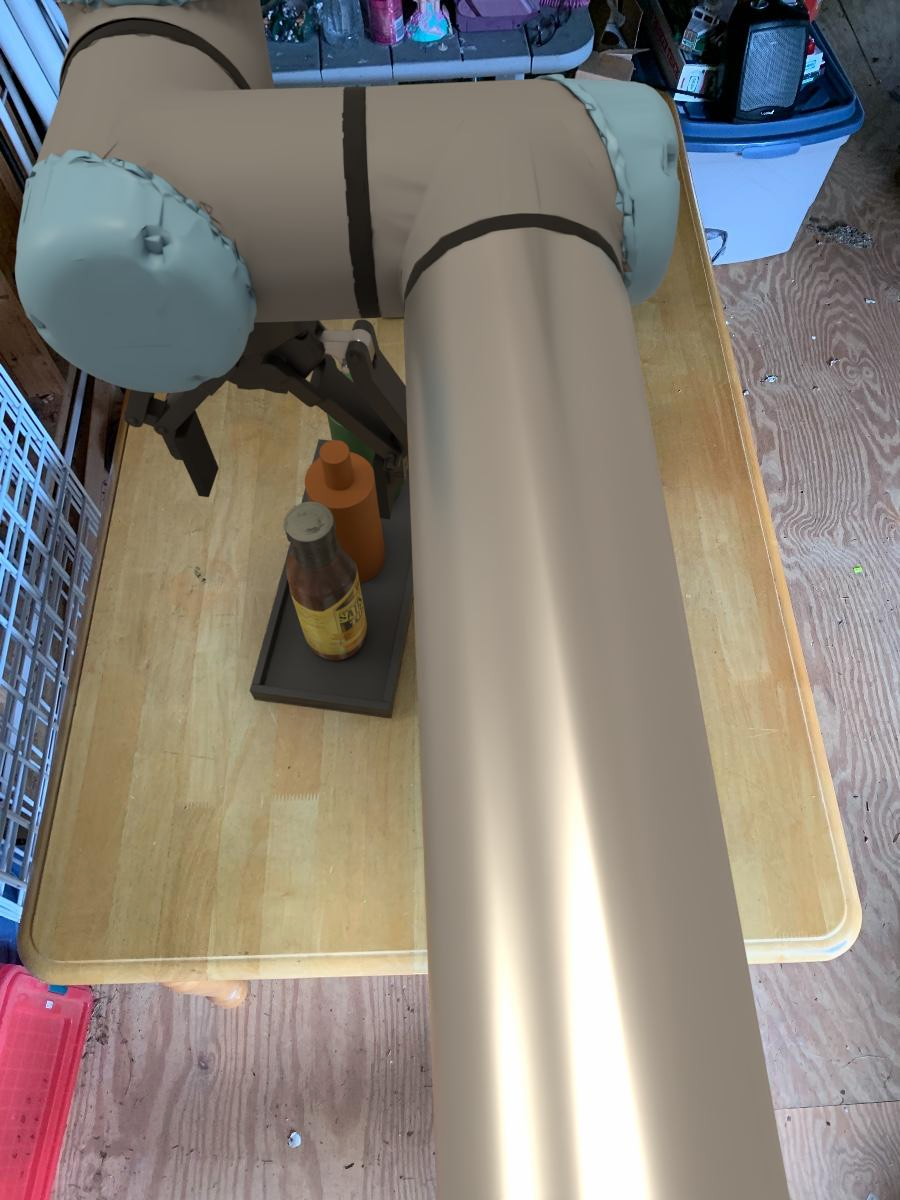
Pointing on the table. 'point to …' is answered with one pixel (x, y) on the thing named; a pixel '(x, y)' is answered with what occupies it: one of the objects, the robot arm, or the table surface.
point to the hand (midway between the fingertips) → (298, 493)
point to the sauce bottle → (324, 583)
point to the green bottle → (353, 441)
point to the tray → (375, 667)
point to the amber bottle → (349, 504)
